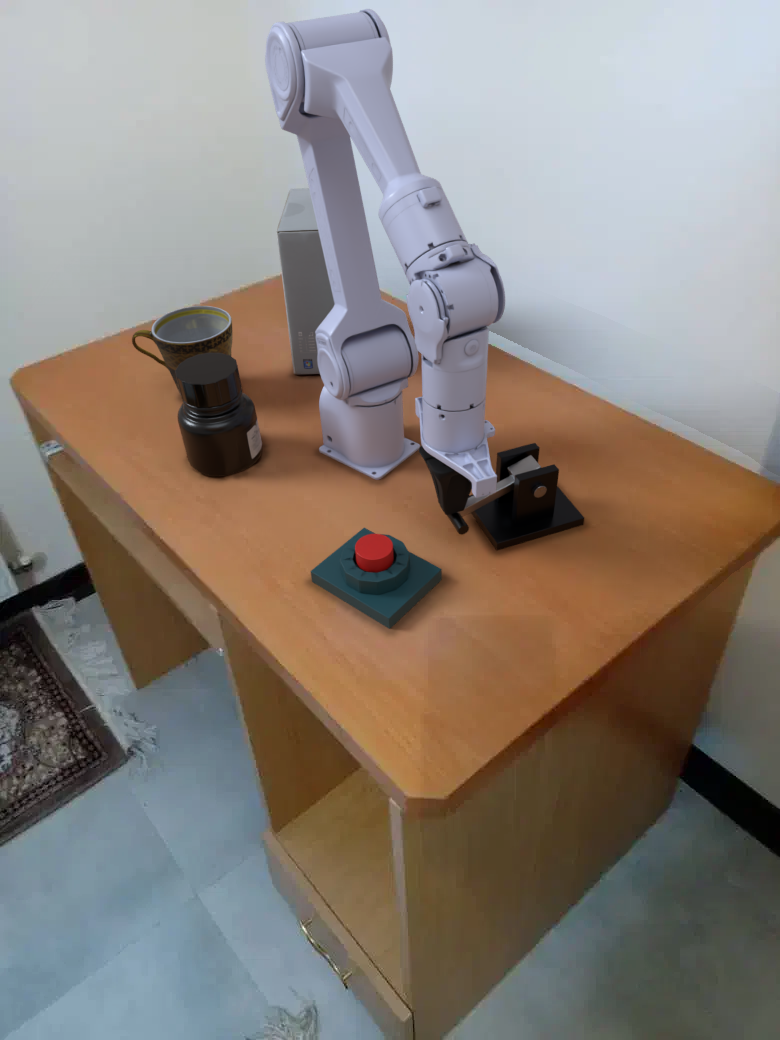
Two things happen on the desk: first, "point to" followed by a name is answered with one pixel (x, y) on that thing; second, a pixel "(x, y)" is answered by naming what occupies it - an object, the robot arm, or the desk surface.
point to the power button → (374, 553)
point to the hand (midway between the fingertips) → (452, 508)
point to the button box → (377, 581)
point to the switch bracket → (526, 503)
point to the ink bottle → (216, 416)
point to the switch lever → (501, 489)
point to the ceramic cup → (188, 335)
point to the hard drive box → (303, 278)
